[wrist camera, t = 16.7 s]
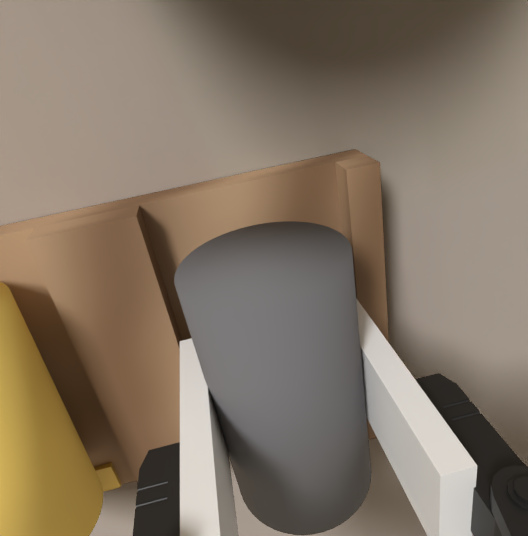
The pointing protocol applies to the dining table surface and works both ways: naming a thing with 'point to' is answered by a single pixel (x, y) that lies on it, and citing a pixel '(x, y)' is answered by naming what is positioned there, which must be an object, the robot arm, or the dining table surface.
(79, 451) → the yellow foam roll
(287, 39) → the dining table surface
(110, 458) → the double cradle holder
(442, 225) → the dining table surface
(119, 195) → the dining table surface
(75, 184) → the dining table surface
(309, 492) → the gray cylinder
